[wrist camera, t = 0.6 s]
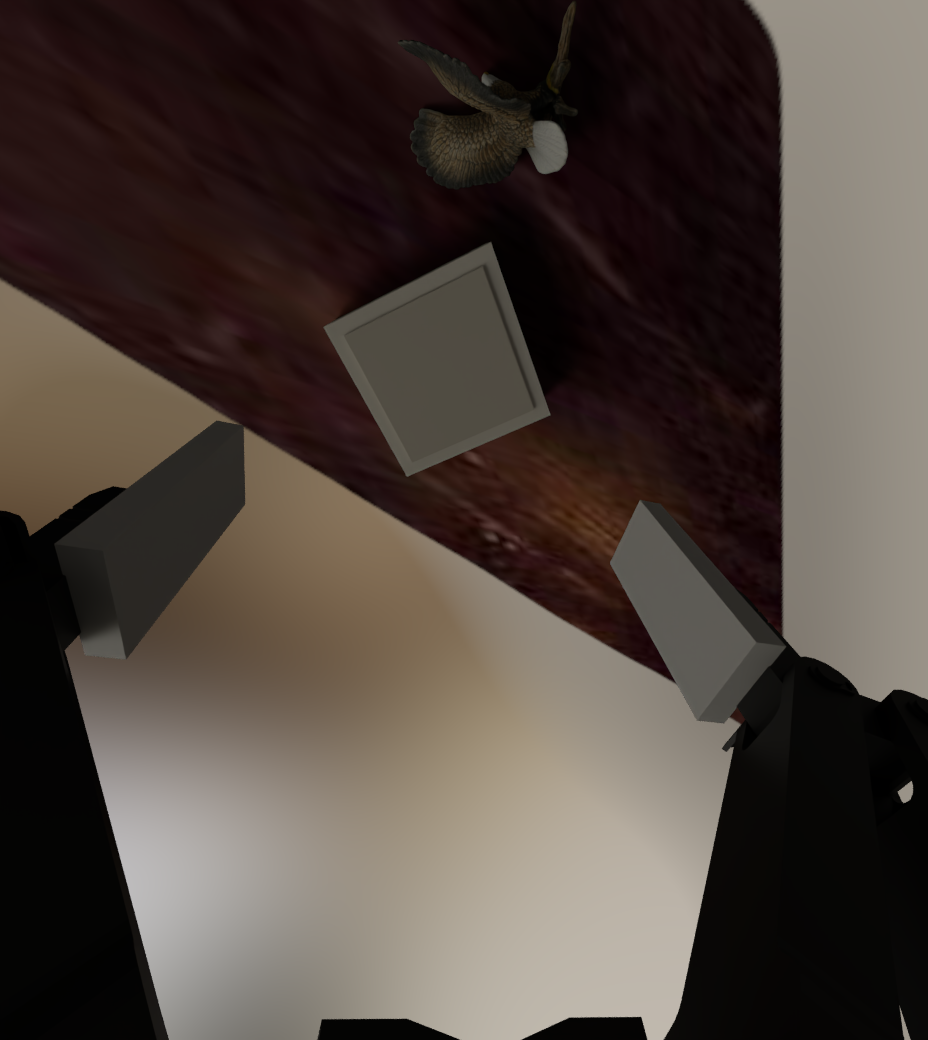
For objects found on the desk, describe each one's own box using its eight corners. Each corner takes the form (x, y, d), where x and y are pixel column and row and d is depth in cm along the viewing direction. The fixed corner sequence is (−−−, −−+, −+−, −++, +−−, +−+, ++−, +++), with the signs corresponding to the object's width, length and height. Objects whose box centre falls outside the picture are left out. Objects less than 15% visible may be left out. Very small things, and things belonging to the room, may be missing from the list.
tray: (335, 319, 33) (322, 327, 30) (485, 243, 31) (491, 242, 28) (409, 457, 39) (406, 478, 35) (540, 400, 37) (551, 416, 33)
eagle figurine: (546, -25, 24) (384, 9, 23) (605, 22, 21) (421, 63, 20) (534, 144, 31) (409, 175, 30) (578, 198, 28) (439, 234, 27)
